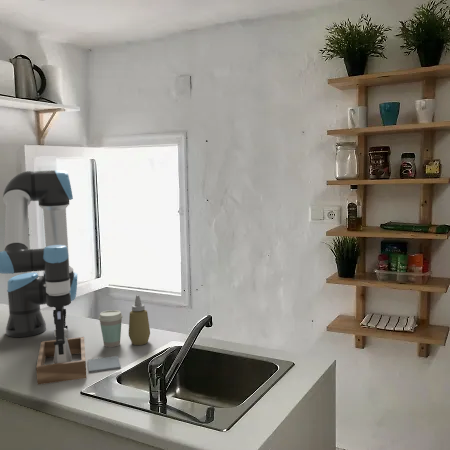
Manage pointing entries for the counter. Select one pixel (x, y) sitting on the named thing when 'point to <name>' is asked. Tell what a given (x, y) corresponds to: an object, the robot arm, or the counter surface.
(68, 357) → the salt shaker
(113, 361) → the mat
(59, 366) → the crate
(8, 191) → the robot arm
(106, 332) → the coffee cup
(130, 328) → the squeeze bottle
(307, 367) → the counter surface
